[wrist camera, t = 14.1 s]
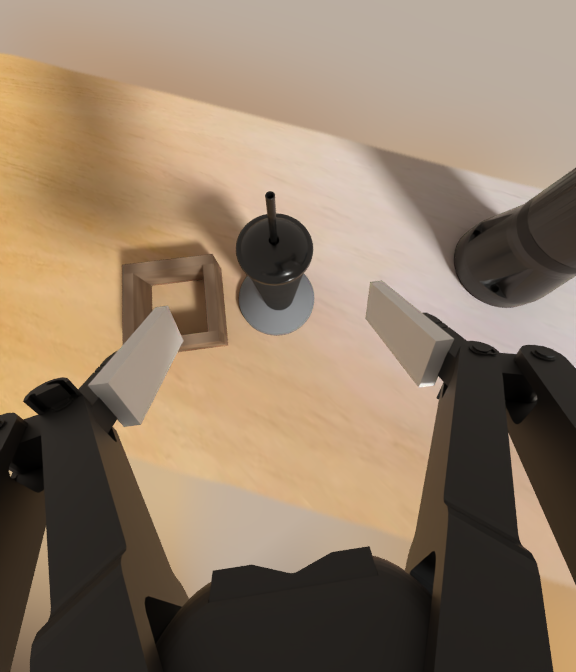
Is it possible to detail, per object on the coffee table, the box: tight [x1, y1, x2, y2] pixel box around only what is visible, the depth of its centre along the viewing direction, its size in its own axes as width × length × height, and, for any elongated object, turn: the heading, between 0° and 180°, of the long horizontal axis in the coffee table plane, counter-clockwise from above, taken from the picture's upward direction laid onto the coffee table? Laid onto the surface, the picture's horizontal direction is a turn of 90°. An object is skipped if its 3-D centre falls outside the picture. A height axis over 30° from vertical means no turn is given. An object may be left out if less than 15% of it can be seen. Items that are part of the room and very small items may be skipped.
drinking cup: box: [236, 191, 313, 310], centre depth 25 cm, size 8×8×20 cm
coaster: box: [239, 273, 314, 335], centre depth 35 cm, size 12×12×1 cm
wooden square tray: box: [122, 254, 228, 352], centre depth 33 cm, size 13×13×4 cm
